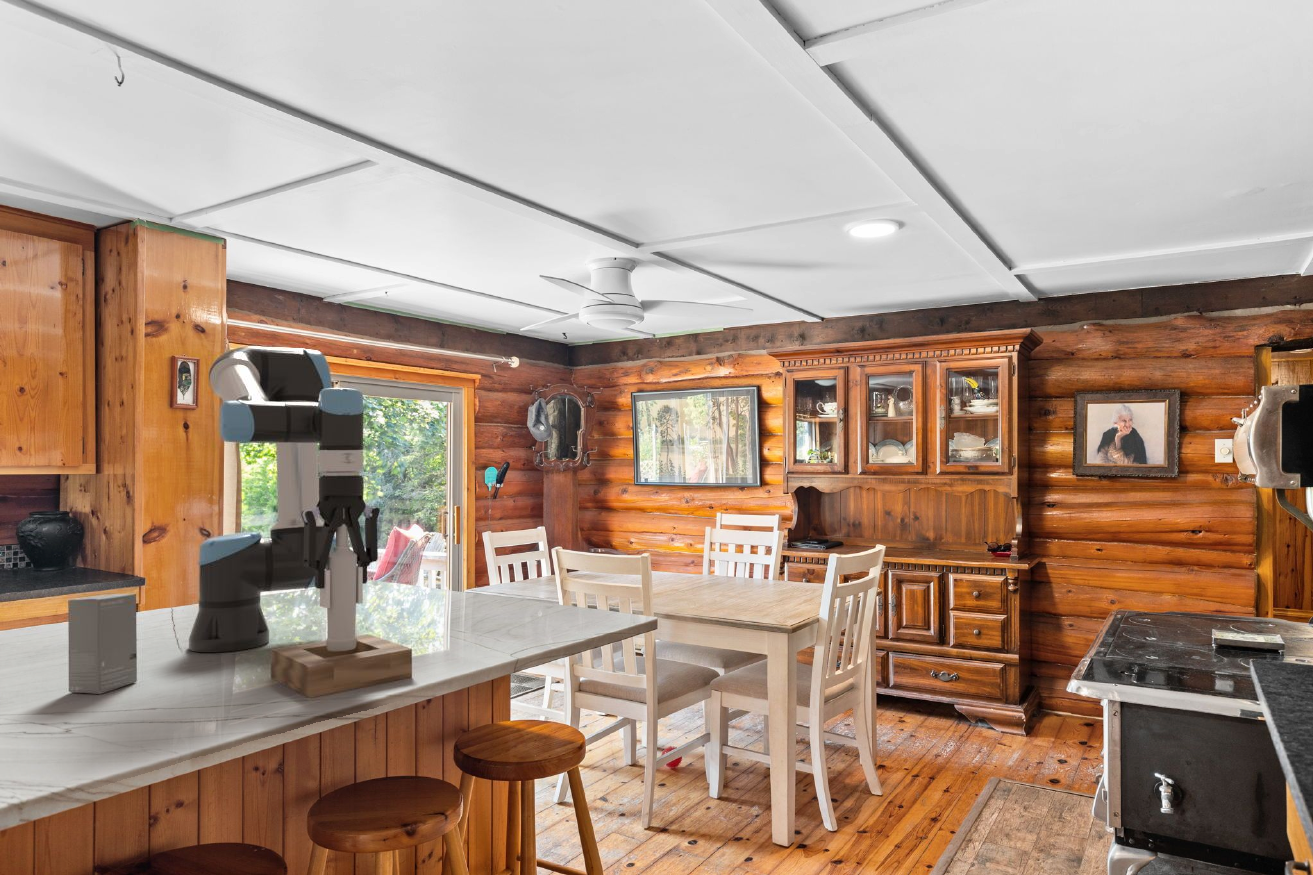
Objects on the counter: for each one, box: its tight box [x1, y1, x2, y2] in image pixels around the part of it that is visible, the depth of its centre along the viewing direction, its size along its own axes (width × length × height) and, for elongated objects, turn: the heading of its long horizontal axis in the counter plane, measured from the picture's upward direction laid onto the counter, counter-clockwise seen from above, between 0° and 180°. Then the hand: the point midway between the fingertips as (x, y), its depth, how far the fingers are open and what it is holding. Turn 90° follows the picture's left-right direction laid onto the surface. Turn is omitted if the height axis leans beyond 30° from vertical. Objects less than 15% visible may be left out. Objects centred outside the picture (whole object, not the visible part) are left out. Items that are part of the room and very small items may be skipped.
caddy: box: [270, 633, 413, 699], centre depth 148 cm, size 18×18×5 cm
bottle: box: [325, 524, 357, 651], centre depth 148 cm, size 5×5×25 cm
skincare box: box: [67, 593, 138, 695], centre depth 143 cm, size 8×7×16 cm
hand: (341, 604), depth 148 cm, fingers closed on bottle, 5 cm apart
